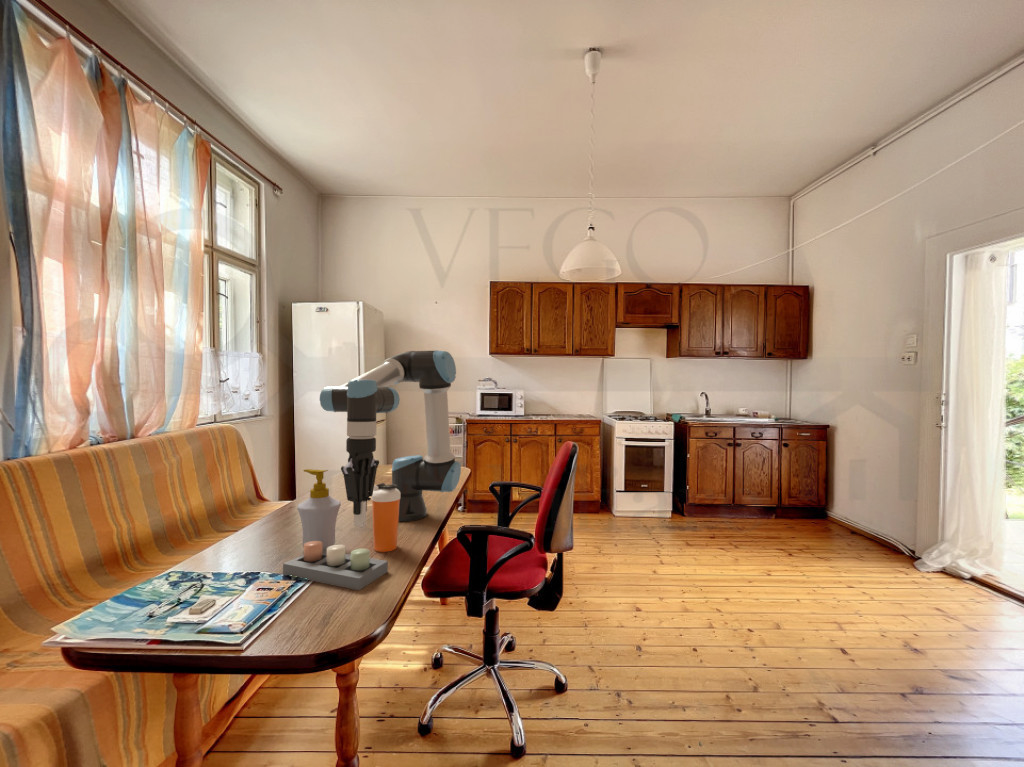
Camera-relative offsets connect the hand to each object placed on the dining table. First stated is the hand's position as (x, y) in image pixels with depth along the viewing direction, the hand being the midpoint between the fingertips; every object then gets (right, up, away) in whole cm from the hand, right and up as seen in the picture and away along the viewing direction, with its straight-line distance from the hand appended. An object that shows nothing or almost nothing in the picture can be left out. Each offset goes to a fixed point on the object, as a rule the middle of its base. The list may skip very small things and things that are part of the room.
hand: (359, 525), depth 121 cm
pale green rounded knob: (0, -11, 0) cm, 11 cm away
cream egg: (-8, -11, +3) cm, 14 cm away
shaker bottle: (+1, -14, +23) cm, 27 cm away
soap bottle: (-20, -14, +22) cm, 33 cm away
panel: (-8, -14, +3) cm, 16 cm away
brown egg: (-15, -11, +6) cm, 20 cm away
